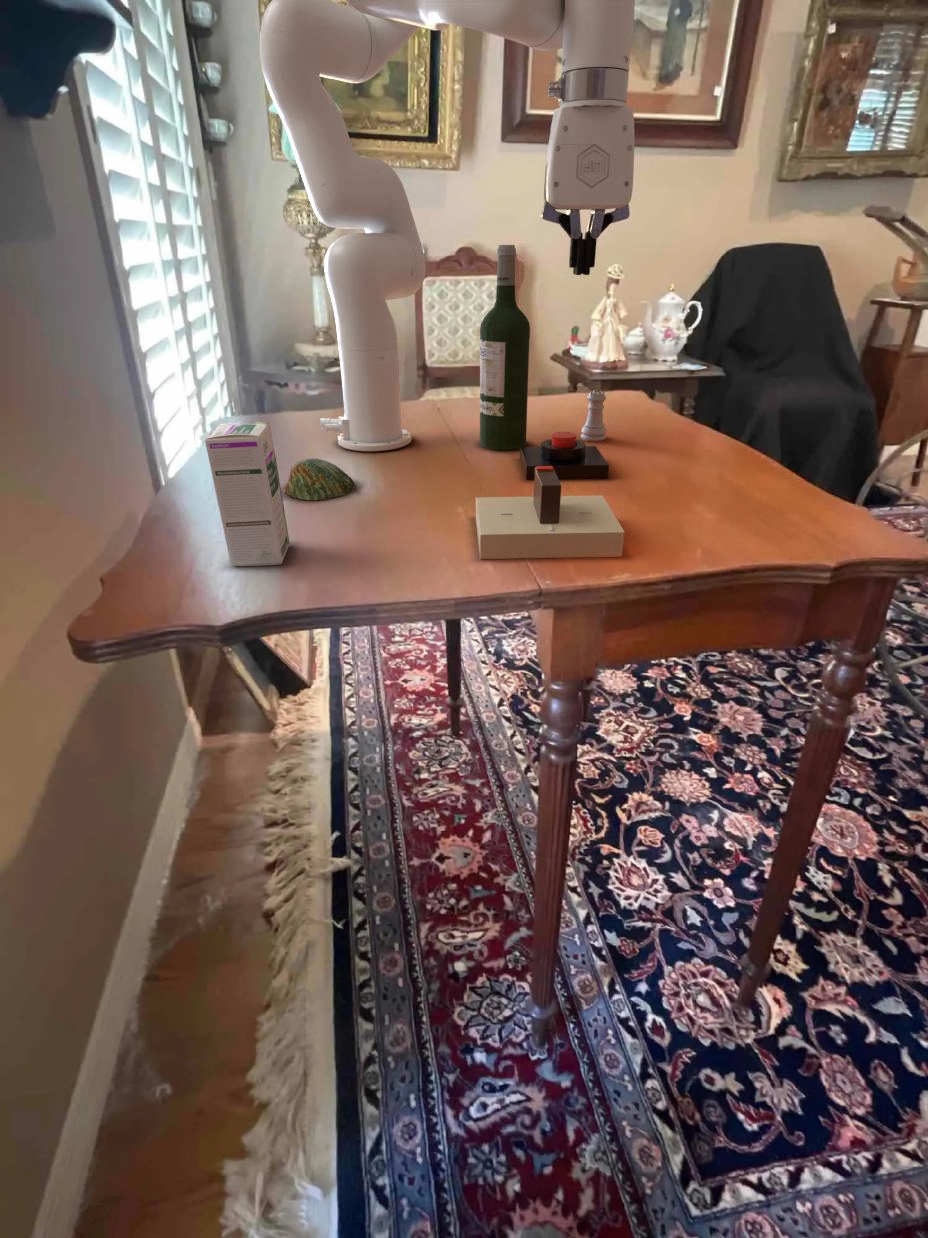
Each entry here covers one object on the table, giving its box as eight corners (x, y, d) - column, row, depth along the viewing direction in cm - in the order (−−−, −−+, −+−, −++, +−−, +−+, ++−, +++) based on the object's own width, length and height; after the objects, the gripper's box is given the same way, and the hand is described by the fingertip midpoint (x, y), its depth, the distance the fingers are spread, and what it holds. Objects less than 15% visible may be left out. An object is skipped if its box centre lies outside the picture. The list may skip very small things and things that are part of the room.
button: (553, 449, 102) (553, 438, 101) (549, 443, 105) (550, 431, 104) (577, 449, 102) (578, 437, 101) (573, 442, 105) (574, 431, 104)
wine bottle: (470, 444, 118) (469, 245, 103) (503, 436, 122) (507, 243, 107) (502, 454, 113) (506, 245, 98) (535, 445, 117) (544, 244, 102)
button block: (526, 480, 101) (527, 453, 99) (519, 460, 110) (520, 435, 108) (607, 479, 101) (610, 452, 99) (594, 459, 110) (596, 434, 108)
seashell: (306, 474, 91) (266, 459, 97) (308, 504, 92) (269, 488, 99) (367, 464, 97) (326, 450, 103) (368, 492, 99) (327, 477, 105)
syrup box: (283, 565, 76) (263, 434, 69) (228, 567, 76) (203, 435, 69) (290, 544, 81) (272, 420, 74) (239, 546, 81) (216, 421, 74)
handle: (559, 523, 78) (561, 483, 76) (539, 523, 78) (541, 483, 76) (551, 503, 84) (553, 465, 82) (533, 503, 84) (534, 465, 82)
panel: (480, 559, 77) (480, 533, 76) (475, 519, 88) (475, 495, 86) (621, 556, 78) (624, 530, 76) (600, 517, 88) (603, 493, 87)
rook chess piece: (607, 442, 118) (612, 394, 114) (581, 442, 118) (585, 394, 114) (603, 435, 122) (608, 389, 118) (578, 435, 122) (582, 389, 118)
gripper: (531, 89, 75) (525, 276, 84) (667, 88, 75) (647, 275, 85) (524, 100, 82) (519, 273, 91) (650, 99, 82) (632, 272, 91)
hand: (581, 273), depth 88 cm, fingers closed
